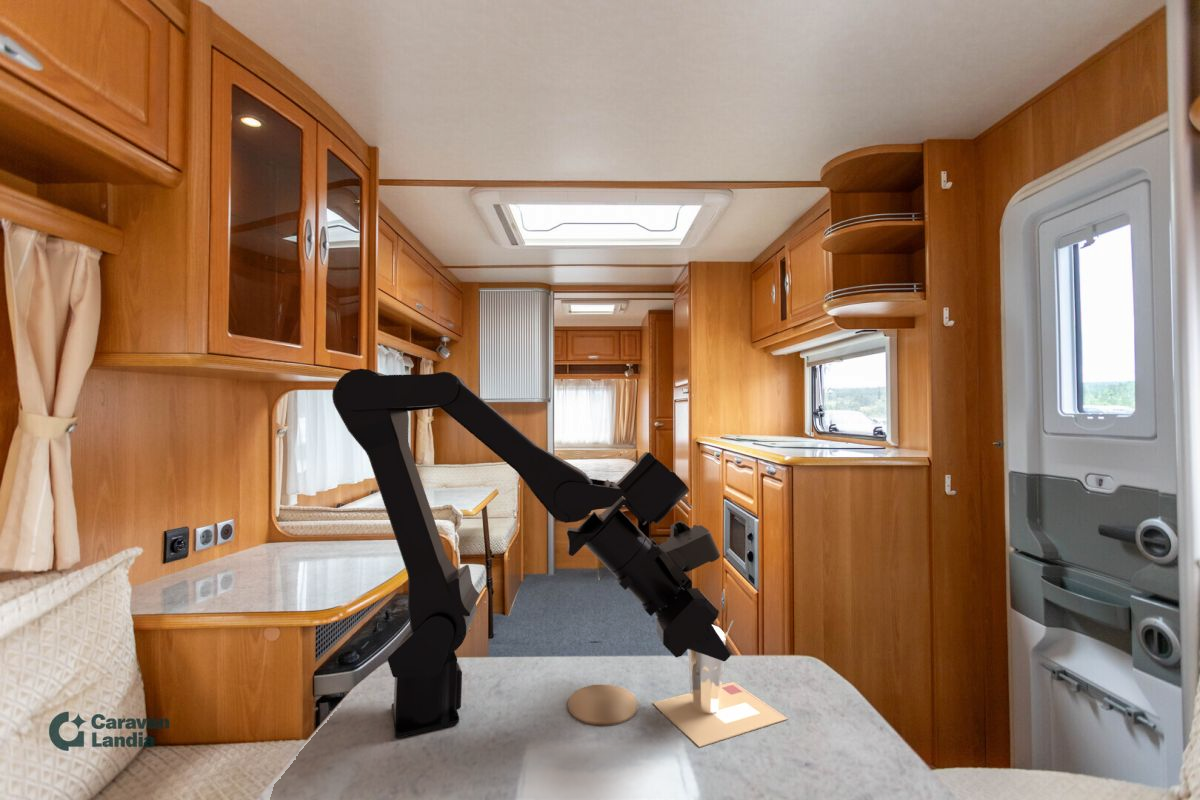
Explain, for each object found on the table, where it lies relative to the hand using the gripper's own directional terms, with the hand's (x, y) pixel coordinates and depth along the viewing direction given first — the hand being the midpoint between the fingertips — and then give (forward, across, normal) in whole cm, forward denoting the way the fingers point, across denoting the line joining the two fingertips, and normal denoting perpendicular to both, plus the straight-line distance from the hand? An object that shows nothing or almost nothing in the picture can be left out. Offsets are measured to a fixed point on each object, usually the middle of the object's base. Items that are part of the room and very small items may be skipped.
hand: (721, 648), depth 59 cm
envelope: (+4, -1, +5) cm, 7 cm away
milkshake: (+4, 0, +6) cm, 7 cm away
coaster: (-5, +1, +14) cm, 15 cm away
